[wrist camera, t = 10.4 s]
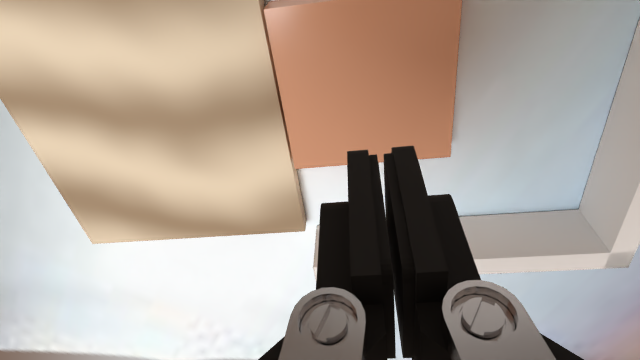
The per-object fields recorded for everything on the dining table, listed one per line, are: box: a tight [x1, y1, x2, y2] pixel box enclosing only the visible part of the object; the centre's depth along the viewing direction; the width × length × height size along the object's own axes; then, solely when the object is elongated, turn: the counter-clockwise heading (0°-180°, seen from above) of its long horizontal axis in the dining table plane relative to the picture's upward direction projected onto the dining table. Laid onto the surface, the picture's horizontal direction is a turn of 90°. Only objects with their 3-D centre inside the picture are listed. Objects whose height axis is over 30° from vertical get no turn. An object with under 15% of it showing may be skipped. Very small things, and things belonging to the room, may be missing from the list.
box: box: [313, 19, 640, 281], centre depth 17 cm, size 21×17×4 cm
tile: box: [264, 0, 462, 169], centre depth 19 cm, size 8×8×2 cm
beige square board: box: [0, 0, 306, 244], centre depth 20 cm, size 18×14×1 cm
